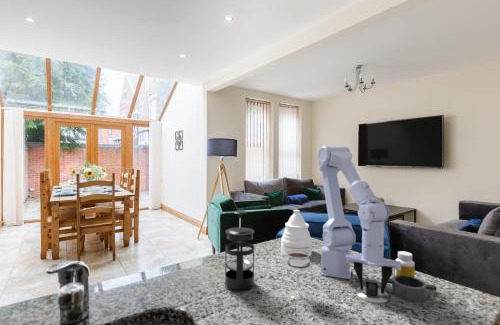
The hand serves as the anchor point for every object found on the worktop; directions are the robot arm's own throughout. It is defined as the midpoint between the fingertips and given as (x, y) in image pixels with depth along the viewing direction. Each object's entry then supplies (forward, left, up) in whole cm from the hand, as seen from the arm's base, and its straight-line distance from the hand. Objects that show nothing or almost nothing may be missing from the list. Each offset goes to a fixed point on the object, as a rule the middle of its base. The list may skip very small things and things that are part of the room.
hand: (371, 290), depth 80 cm
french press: (-38, -9, -2) cm, 39 cm away
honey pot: (-28, +28, -2) cm, 40 cm away
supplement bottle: (+10, +12, -2) cm, 16 cm away
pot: (+10, +4, -1) cm, 11 cm away
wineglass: (-20, -8, -2) cm, 22 cm away
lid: (0, 0, -2) cm, 2 cm away
